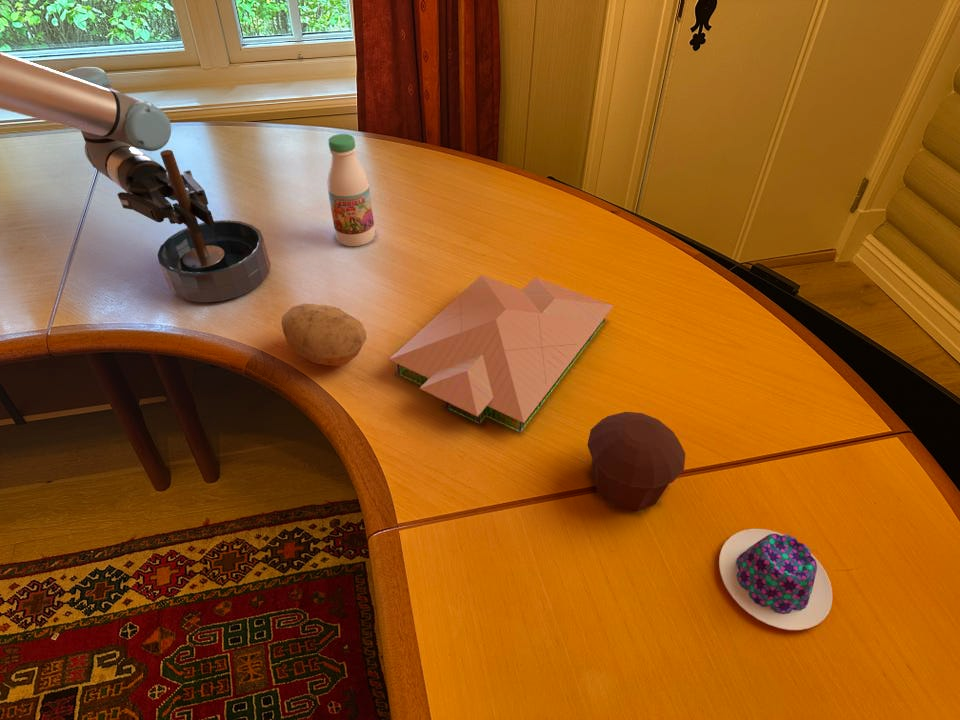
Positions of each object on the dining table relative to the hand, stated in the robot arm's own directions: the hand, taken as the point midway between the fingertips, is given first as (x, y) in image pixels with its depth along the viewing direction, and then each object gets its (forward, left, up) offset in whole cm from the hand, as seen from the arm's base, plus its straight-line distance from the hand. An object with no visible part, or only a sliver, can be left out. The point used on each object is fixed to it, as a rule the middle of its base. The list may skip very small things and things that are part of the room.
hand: (203, 222), depth 98 cm
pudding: (+85, -41, -14) cm, 96 cm away
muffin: (+69, -30, -14) cm, 77 cm away
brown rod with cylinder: (-5, +3, -12) cm, 13 cm away
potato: (+23, -13, -14) cm, 30 cm away
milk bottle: (+17, +21, -14) cm, 30 cm away
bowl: (-3, +4, -14) cm, 14 cm away
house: (+50, -8, -14) cm, 53 cm away
